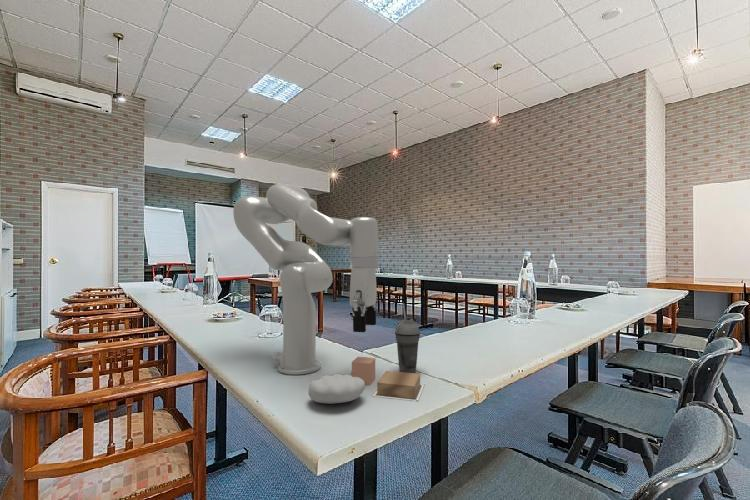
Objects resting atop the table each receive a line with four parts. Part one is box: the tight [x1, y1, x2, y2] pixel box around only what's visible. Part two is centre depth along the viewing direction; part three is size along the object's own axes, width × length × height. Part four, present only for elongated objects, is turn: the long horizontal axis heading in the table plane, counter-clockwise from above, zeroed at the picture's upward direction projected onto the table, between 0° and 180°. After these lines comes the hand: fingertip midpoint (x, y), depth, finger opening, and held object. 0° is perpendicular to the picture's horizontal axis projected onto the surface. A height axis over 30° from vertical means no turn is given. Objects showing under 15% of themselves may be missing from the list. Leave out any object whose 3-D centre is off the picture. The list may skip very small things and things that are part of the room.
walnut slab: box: [376, 370, 421, 399], centre depth 88 cm, size 9×9×3 cm
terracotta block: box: [351, 356, 376, 386], centre depth 95 cm, size 5×5×6 cm
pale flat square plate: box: [371, 383, 425, 403], centre depth 88 cm, size 11×11×1 cm
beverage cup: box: [394, 303, 421, 373], centre depth 102 cm, size 7×7×20 cm
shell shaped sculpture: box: [307, 373, 366, 405], centre depth 81 cm, size 13×13×6 cm
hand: (365, 328), depth 95 cm, fingers open, 9 cm apart
